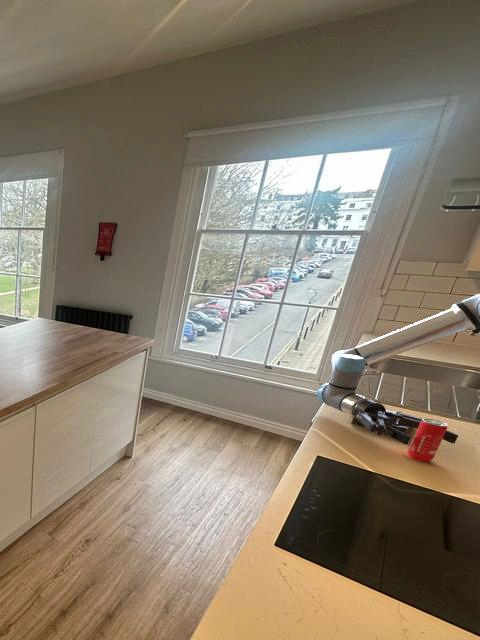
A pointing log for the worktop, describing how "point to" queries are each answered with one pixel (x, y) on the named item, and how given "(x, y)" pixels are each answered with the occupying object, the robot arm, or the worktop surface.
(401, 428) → the scale
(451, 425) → the worktop surface
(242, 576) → the worktop surface
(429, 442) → the beverage can
